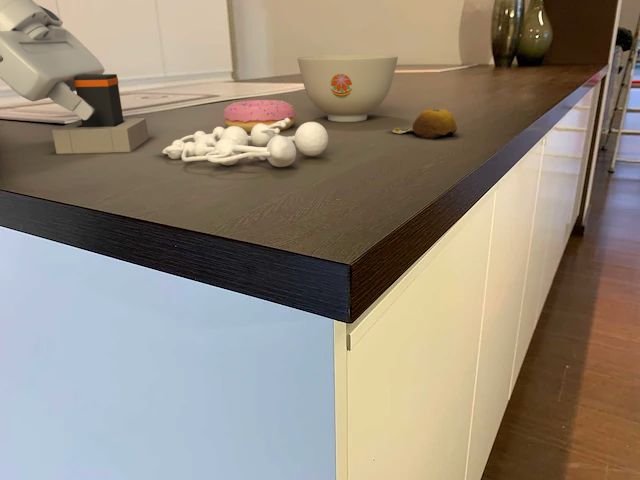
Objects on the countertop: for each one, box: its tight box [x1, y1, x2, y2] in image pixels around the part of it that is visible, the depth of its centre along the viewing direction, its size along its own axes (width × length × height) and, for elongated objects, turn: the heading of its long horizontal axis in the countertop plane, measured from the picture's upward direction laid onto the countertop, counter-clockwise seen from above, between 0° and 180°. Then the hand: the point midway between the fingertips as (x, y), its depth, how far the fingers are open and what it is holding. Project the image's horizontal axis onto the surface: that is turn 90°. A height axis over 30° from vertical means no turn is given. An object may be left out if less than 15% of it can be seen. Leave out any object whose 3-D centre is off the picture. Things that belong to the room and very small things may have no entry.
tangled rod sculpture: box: [161, 118, 329, 168], centre depth 61 cm, size 19×14×4 cm
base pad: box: [52, 117, 149, 155], centre depth 70 cm, size 9×9×3 cm
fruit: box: [391, 108, 458, 140], centre depth 74 cm, size 8×8×4 cm
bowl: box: [297, 54, 399, 123], centre depth 88 cm, size 16×16×10 cm
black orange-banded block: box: [74, 73, 124, 127], centre depth 69 cm, size 4×4×9 cm
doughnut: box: [222, 98, 297, 134], centre depth 81 cm, size 11×11×4 cm
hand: (104, 110), depth 69 cm, fingers open, 8 cm apart
